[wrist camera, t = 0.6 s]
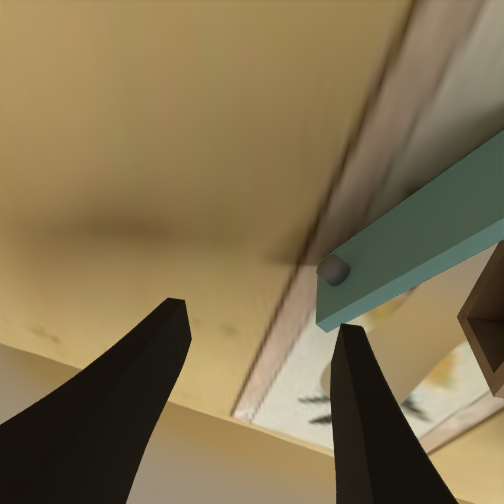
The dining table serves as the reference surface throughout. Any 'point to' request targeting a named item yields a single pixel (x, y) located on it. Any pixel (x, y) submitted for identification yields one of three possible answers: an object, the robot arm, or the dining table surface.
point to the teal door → (416, 238)
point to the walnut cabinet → (487, 321)
